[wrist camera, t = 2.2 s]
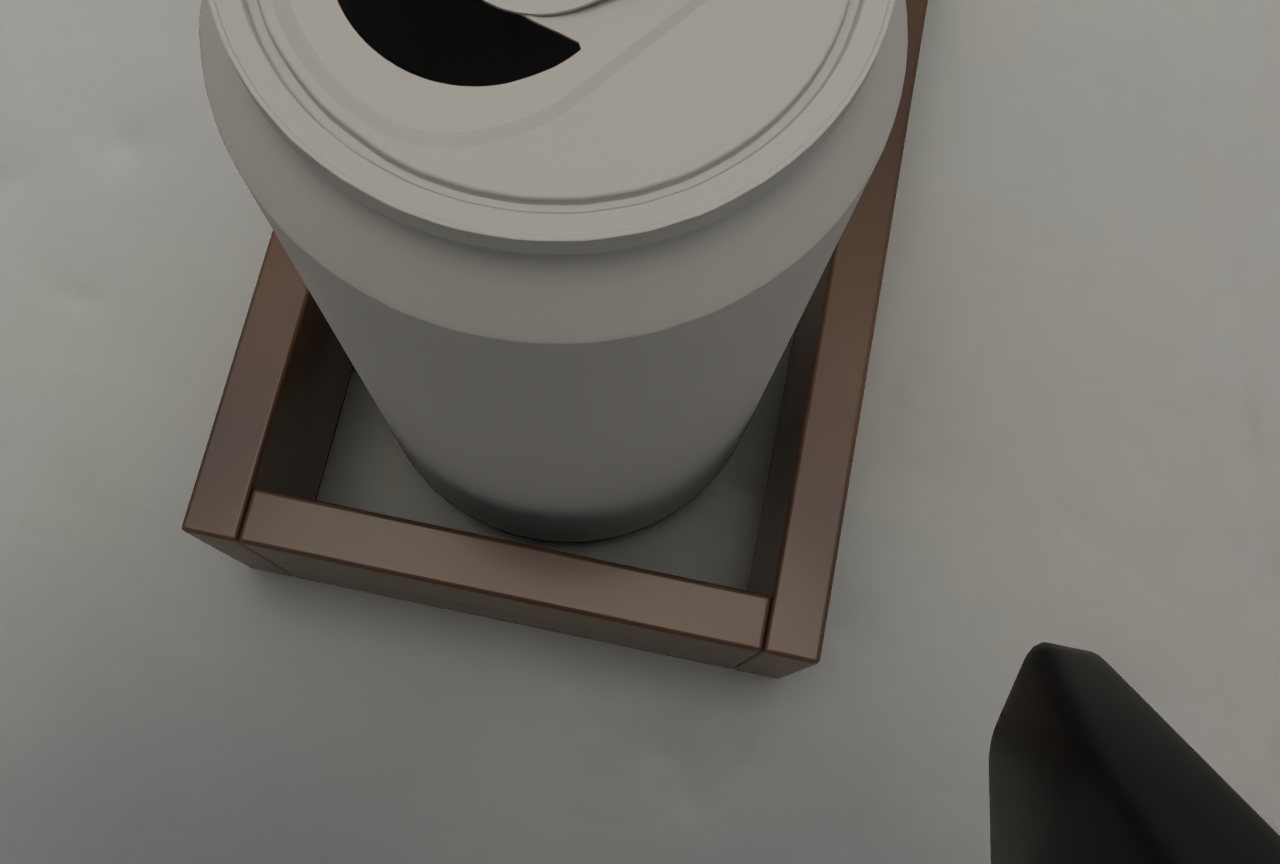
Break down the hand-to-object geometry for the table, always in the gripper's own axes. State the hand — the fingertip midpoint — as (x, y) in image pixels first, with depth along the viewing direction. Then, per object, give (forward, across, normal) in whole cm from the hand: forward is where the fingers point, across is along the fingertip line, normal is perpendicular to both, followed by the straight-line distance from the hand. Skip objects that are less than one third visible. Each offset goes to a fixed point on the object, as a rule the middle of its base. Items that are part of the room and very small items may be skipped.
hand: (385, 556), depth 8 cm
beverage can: (+12, 0, +5) cm, 13 cm away
